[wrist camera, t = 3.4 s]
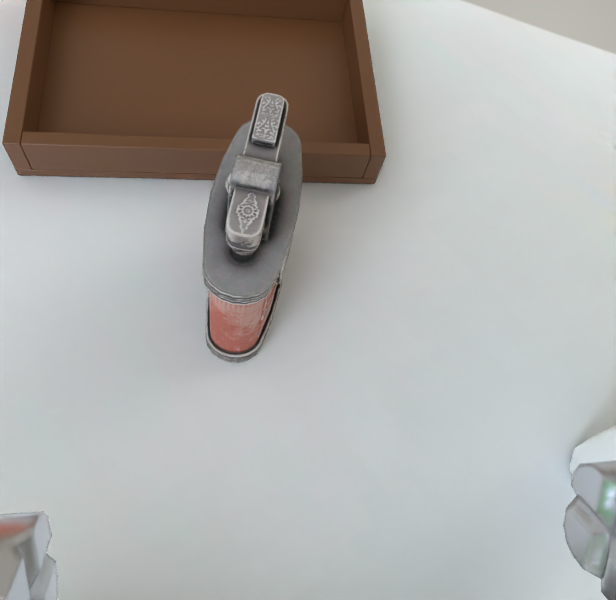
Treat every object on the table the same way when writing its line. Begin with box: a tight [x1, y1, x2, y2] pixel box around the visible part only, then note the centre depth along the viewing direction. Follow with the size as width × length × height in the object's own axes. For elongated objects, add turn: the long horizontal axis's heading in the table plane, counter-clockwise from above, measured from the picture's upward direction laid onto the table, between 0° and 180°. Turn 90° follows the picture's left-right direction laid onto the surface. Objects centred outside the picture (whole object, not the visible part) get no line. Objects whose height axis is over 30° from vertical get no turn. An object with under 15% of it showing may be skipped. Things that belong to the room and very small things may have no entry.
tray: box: [2, 0, 386, 184], centre depth 32 cm, size 19×13×2 cm
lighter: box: [203, 93, 302, 362], centre depth 24 cm, size 8×3×10 cm, turn 171°
